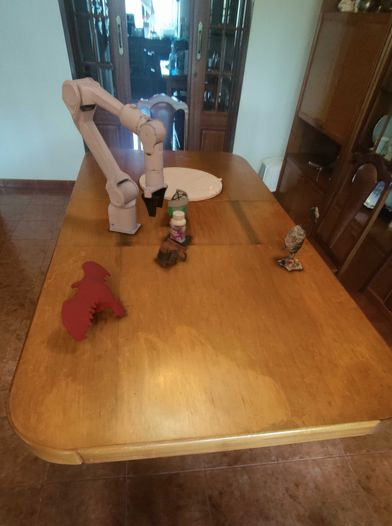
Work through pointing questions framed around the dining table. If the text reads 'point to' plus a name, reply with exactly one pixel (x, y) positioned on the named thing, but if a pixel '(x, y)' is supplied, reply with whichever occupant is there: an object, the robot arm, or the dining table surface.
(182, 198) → the food container
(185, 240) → the coaster
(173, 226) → the pill bottle
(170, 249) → the pottery mug
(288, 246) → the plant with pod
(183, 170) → the lazy susan
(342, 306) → the dining table surface
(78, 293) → the red lobster claw
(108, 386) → the dining table surface
